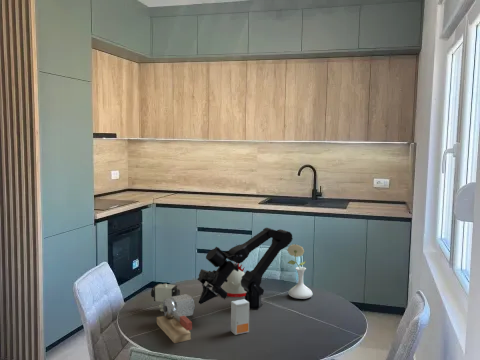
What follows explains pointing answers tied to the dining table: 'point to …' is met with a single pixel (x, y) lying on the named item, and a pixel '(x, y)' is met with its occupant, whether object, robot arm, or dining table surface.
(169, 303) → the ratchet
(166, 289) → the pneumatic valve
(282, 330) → the dining table surface
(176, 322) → the oak cradle
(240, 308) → the skincare box
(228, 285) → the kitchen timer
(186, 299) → the cube on metal disc
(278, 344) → the dining table surface
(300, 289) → the flower in vase
